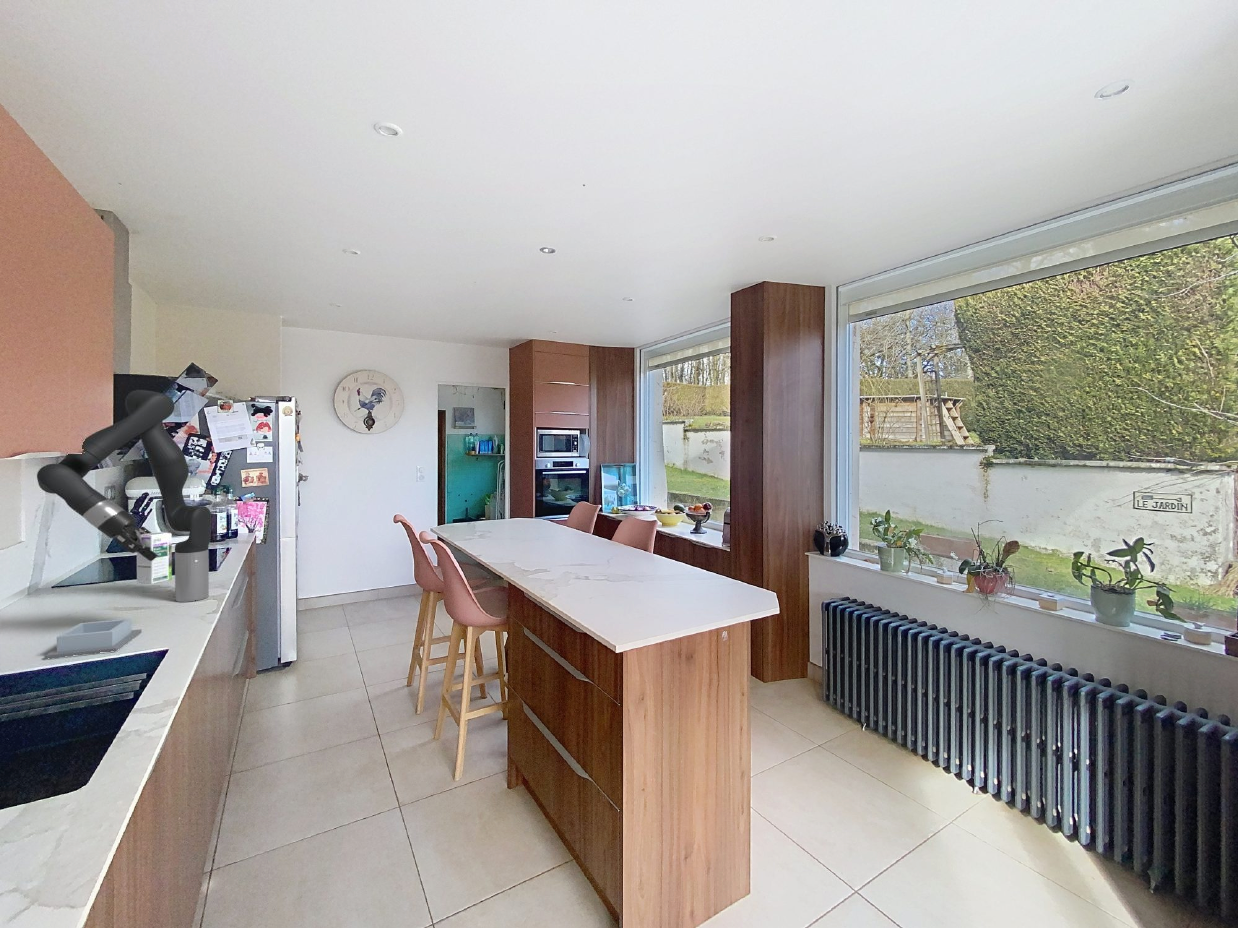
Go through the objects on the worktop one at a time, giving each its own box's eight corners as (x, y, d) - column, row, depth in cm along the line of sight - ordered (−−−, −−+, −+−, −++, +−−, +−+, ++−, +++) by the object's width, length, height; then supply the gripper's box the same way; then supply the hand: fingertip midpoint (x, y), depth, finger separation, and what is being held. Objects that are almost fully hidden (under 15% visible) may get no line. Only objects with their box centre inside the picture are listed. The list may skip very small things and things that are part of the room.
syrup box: (151, 584, 151) (152, 535, 150) (135, 582, 152) (136, 534, 152) (172, 579, 156) (172, 532, 156) (156, 578, 157) (157, 531, 157)
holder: (77, 638, 145) (77, 621, 145) (141, 632, 150) (141, 615, 150) (44, 659, 131) (44, 640, 131) (116, 651, 137) (115, 633, 137)
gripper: (110, 512, 144) (162, 551, 149) (133, 506, 157) (180, 542, 162) (84, 531, 142) (138, 570, 147) (110, 524, 155) (159, 560, 160)
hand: (160, 555), depth 155 cm, fingers closed on syrup box, 7 cm apart
